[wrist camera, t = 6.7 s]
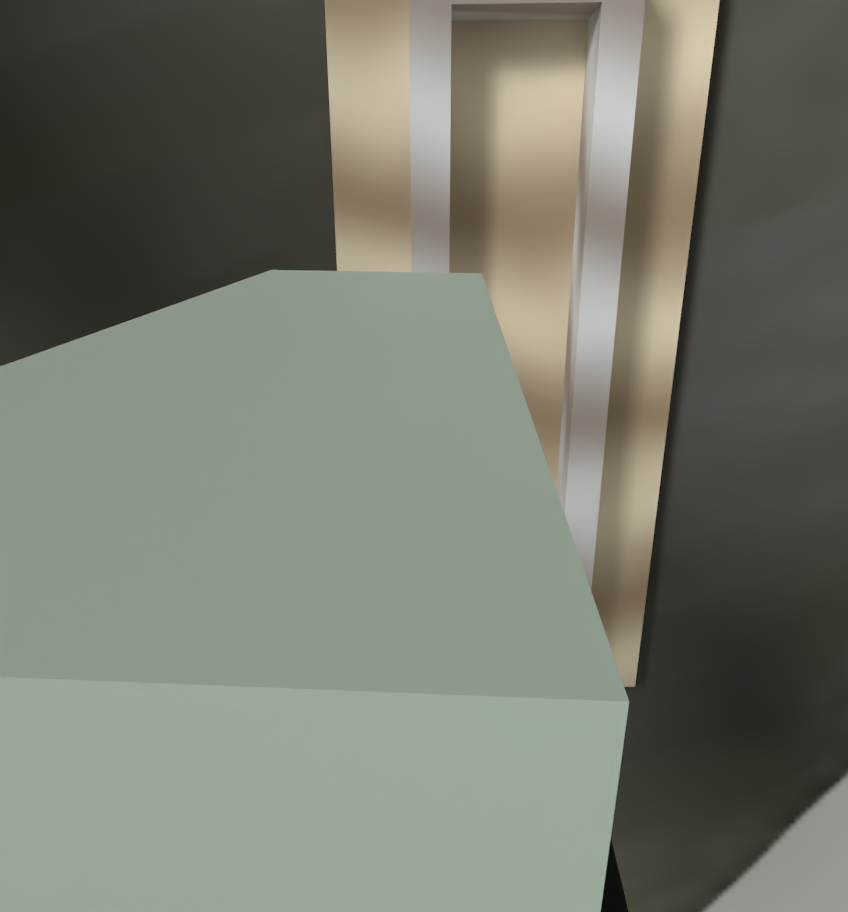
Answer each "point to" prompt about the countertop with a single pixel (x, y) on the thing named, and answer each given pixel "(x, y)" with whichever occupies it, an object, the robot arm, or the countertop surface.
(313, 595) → the door panel
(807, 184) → the countertop surface
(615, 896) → the robot arm
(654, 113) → the door track
